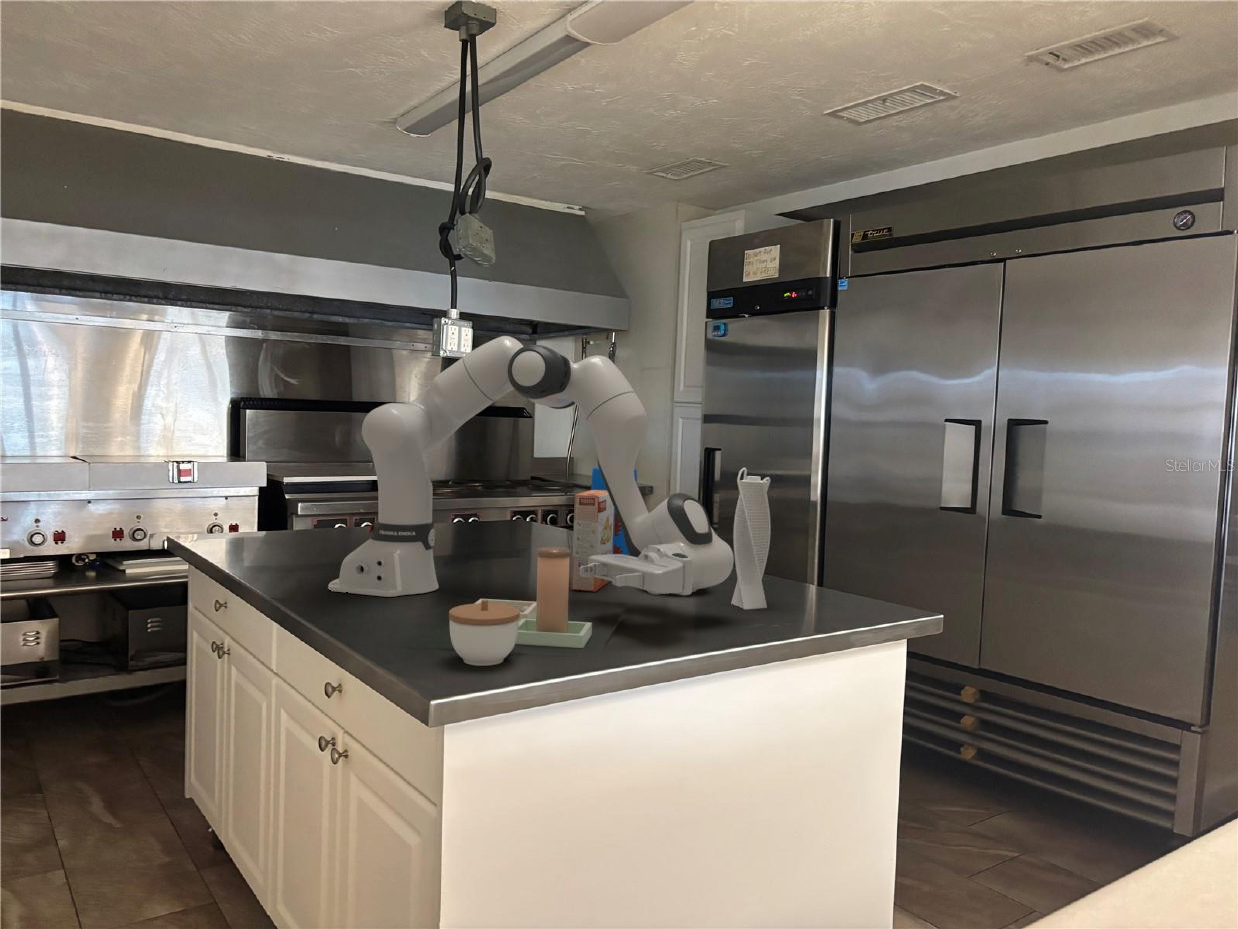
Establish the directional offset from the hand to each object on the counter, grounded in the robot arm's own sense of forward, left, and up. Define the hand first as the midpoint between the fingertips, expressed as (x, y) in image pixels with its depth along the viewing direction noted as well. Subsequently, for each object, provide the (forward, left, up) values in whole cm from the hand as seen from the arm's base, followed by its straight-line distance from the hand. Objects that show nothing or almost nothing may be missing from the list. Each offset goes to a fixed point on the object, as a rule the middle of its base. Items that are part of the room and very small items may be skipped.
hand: (598, 576), depth 154 cm
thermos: (-6, +63, -11) cm, 64 cm away
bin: (-23, +5, -11) cm, 26 cm away
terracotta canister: (-7, -6, -10) cm, 13 cm away
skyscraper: (+26, +33, -11) cm, 44 cm away
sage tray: (-7, -6, -11) cm, 14 cm away
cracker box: (-8, +45, -11) cm, 47 cm away
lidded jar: (-15, -18, -11) cm, 25 cm away
